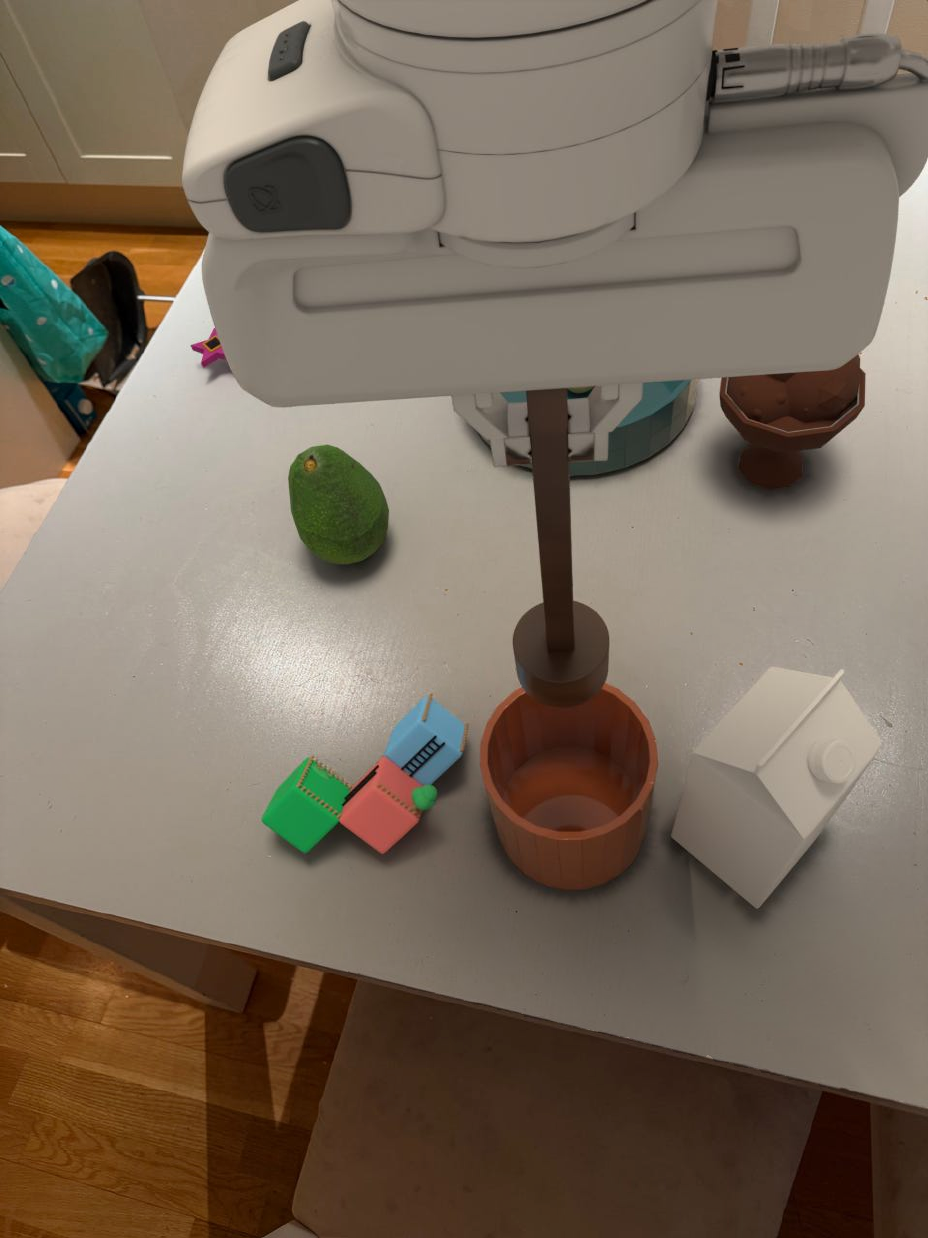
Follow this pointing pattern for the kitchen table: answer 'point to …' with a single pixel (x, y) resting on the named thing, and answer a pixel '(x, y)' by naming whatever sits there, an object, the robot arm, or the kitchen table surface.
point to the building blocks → (372, 785)
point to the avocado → (336, 505)
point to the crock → (570, 785)
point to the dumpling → (580, 389)
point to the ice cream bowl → (789, 417)
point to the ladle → (557, 576)
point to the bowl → (636, 424)
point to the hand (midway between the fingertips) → (549, 451)
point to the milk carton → (772, 778)
